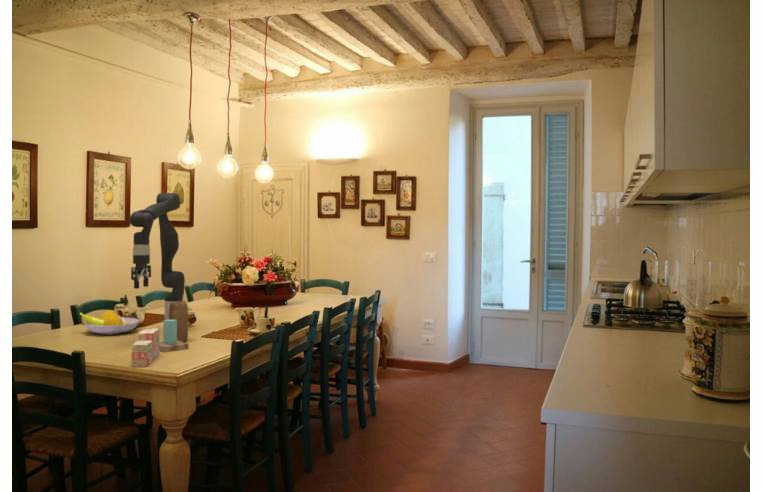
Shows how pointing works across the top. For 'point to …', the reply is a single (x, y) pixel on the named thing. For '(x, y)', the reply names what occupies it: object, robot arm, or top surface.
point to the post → (170, 331)
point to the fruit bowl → (109, 323)
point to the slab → (172, 346)
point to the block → (180, 318)
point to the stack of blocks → (146, 347)
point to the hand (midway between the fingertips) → (141, 287)
